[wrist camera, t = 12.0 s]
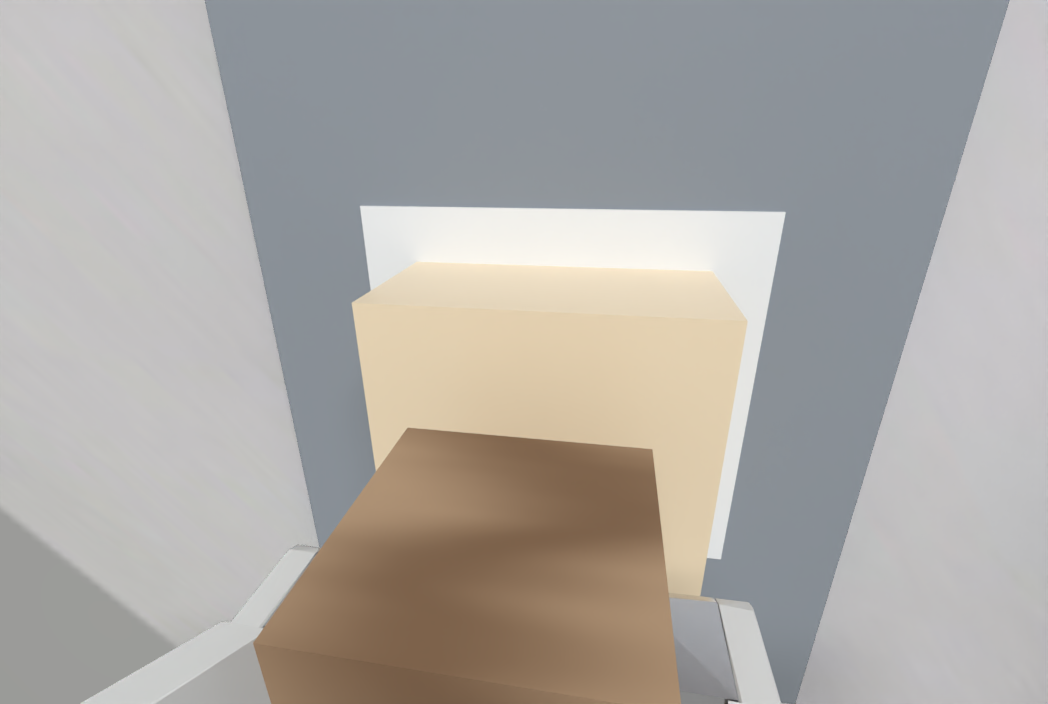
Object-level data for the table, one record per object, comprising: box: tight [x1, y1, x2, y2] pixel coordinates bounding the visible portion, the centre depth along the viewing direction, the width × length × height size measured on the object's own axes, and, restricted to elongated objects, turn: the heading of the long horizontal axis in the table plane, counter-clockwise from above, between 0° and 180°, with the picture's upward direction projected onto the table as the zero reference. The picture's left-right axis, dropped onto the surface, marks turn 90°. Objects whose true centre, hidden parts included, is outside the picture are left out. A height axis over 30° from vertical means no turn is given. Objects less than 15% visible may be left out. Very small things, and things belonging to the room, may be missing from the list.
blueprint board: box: [205, 0, 1009, 704], centre depth 14 cm, size 18×24×5 cm
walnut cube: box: [253, 428, 681, 704], centre depth 8 cm, size 4×4×4 cm
